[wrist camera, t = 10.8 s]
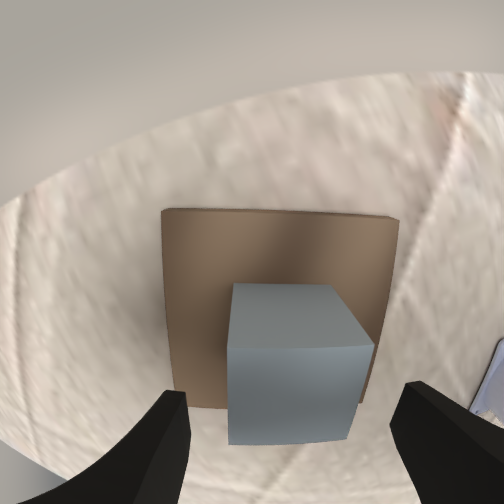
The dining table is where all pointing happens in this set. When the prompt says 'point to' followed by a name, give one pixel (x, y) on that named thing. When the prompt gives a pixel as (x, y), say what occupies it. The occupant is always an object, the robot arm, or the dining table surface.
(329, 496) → the dining table surface
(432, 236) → the dining table surface
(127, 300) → the dining table surface
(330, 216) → the walnut base board
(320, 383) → the slate block
